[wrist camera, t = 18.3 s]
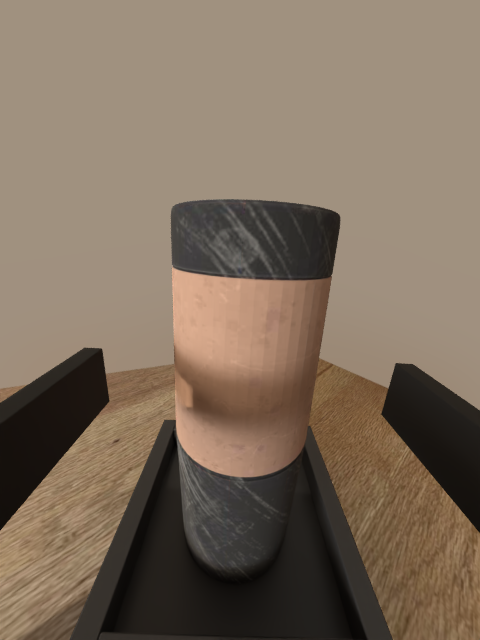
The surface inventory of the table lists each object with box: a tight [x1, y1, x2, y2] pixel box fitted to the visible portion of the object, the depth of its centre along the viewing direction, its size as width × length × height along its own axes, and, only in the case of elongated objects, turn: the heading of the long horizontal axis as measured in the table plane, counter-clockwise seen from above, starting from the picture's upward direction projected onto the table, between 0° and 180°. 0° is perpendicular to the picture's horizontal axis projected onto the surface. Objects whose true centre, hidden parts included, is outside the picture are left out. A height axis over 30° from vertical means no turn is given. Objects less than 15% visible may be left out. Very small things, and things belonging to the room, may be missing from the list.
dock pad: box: [70, 420, 393, 640], centre depth 17 cm, size 14×14×3 cm
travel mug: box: [171, 199, 340, 584], centre depth 14 cm, size 8×8×20 cm
